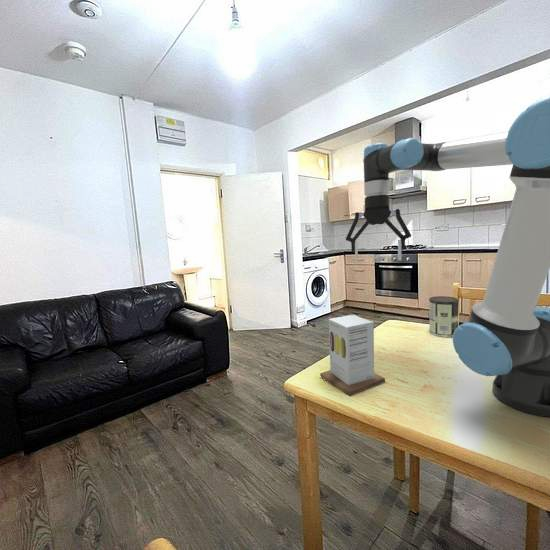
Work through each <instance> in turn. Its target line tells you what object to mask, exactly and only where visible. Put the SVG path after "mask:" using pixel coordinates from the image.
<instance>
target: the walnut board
mask: <svg viewBox="0 0 550 550" xmlns="http://www.w3.org/2000/svg"><path fill="white" fill-rule="evenodd" d="M320 376H321V377H322V378H321V377H320V378H321V379H323V378H324V379H325V380H324V379H323V380H324V381H326V380H327V381H328V382H327V381H326V382H327V383H329V382H330V383H331V384H330V383H329V384H330V385H332V386H333V387H336V388H337V389H338V390H340V391H341V392H343V393H345V394H346V395H348V396H349V397H352V396H355V395H356V394H359V393H361V392H364V391H367V390H369V389H372V388H375V387H376V386H379V385H382V384H385V383H386V378H385V377H383V376H381V375H379V374H377V373H375V372H374V378H372V379H369V380H366V381H362V382H359V383H355V384H352V385H347V384H346V383H344V382H343V381H342V380H340V379H339V378H338V377H336V376H335V375H334V374H332V373H331V372H330V369H329V370H326V371H323V372H320Z"/></svg>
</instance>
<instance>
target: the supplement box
mask: <svg viewBox="0 0 550 550" xmlns="http://www.w3.org/2000/svg"><path fill="white" fill-rule="evenodd" d="M374 324H375V323H374V321H372V320H369V319H366V318H363V317H360V316H358V315H356V314H348V315H344V316H338V317H332V318H328V331H329V332H328V333H329V334H328V335H329V339H328V340H329V362H330V363H329V366H330V368H329V370H330V372H331V373H332V374H334V375H335V376H336V377H338V378H339V379H340V380H342V381H343V382H344V383H346V384H347V385H352V384H355V383H359V382H362V381H366V380H369V379H372V378H374V373H375V341H374V340H375V336H374V335H375V334H374V333H375V332H374V331H375V330H374V329H375V326H374Z"/></svg>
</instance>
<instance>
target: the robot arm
mask: <svg viewBox="0 0 550 550" xmlns="http://www.w3.org/2000/svg"><path fill="white" fill-rule="evenodd" d="M362 160H363V161H362V163H363V180H364V182H363V185H364V187H363V189H364V191H363V192H364V196H365V198H364V212H358V211H356V212H355V214H354V220H353V222H352V225H351V226H350V229H349V230H348V233H347V235H346V237H345V241H347V242H350V243H351V252H352V253H354V258H355V259H354V261H355V263H358V261H359V259H358V258H359V253H358V251H359V250H358V249H359V248H358V242H357V239H358V238H359V237H360V236H361V234H362V233H363V232H364V231H365V230H366V228H367V227H368V226H369V224H370V226H371V225H372V226H374V225H375V226H376V225H384V224H386V226H388V227H389V229H390V230H392V232H393V233H394V234H395V235H396V236H397V237H398V238H399V239H397V260H398V261H402V251H404V250H406V249H405V248H406V239H409V238H411V237H412V234H411V232H410V230H409V229H408V227H407V225H406V223H405V221H404V220H403V218H402V215H401V210H400V209H399V208H397V209H393V210H391V209H390V196H389V192H390V181H389V180H390V178H389V177H390V174H392V173H394V172H398V171H427V172H428V171H432V172H441V171H446V170H453V169H454V170H455V169H468V168H482V167H495V166H499V167H500V166H507V165H508V166H510V165H512V166H511V167H512V168H511V170H510V174H509V177H508V178H509V180H510V181H511V182H512V183H513V185H514V187H515V192H514V195H513V198H512V201H511V206H510V209H509V212H508V216H507V219H506V221H505V222H506V223H505V225H504V228H503V232H502V235H501V240H500V243H499V247H498V249H497V253H496V256H495V260H494V263H493V267H492V270H491V273H490V277H489V280H488V284H487V286H486V289H485V293H484V295H483V296H484V297H483V300H482V301H479V302H477V303H475V304H473V306H472V308H471V311H470V314H469V317H468V318H469V319H468V321H467V322H464V323H461V324H460V325H458V327H457V328H456V330H455V331H454V334H453V337H452V345H453V348H454V351H455V352H456V354H457V355H458V358H459V359H460V361H461V362H462V363H463V365H465V366H466V367H467V368H468V369H470V370H471V371H473V372H474V373H477V374H478V375H481V376H485V377H495V378H494V379H493V382H492V393H493V395H494V397H496V398H497V399H498V400H499V401H500V402H502V404H505V405H506V406H509V407H511V408H513V409H515V410H518V411H521V412H524V413H527V414H531V415H535V416H540V417H547V418H548V417H549V418H550V307H548V306H541V305H537V304H538V301H539V298H540V296H541V293H542V290H543V287H544V285H545V282H546V279H547V277H548V275H549V271H550V94H548V95H546V96H543V97H541V98H539V99H538V100H536V101H535V102H533V103H532V104H530V105H528V107H527V108H525V110H523V111H522V112H520V114H519V115H518V116H517V117H516V118H515V120H514V121H513V123H511V126H510V127H509V130H508V131H503V132H498V133H497V132H496V133H490V134H484V135H479V136H474V137H466V138H462V139H460V138H459V139H456V140H455V139H454V140H451V141H450V140H449V141H444V142H438V143H437V142H436V143H421V141H419V140H418V139H417V138H416V137H409V138H406V139H405V138H404V139H401V140H399V141H397V142H395V143H393V144H390V145H388V144H387V143H385V142H378V143H373V144H369V145H367V146H366V147H365V148H364V150H363V159H362ZM391 215H392V216H393V217H395V218H396V220H397V222H398V224H399V225H400V228H401V229H402V231H403V233H404V234H403V233H402V232H401V231H400V230H399V229H398V228H397V227H396V226H395V225H394V224H393V223H392V222H391V221H390V219H389V217H390V216H391ZM362 217H363V218H364V219H365V220H366V221H365V222H364V224H363V225H362V226H361V227H360V228H359V229H358V230H357V232H356V233H355V235H354V236H353V237H352V235H353V232H354V231H355V229H356V227H357V225H358V222H359V220H361V219H362Z"/></svg>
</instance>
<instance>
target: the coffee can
mask: <svg viewBox="0 0 550 550" xmlns="http://www.w3.org/2000/svg"><path fill="white" fill-rule="evenodd" d="M428 298H429V299H428V301H429V331H428V332H429V333H430V335H432V336H437V337H440V336H441V338H444V337H445V338H453V334H454V331H455V330H456V328H457V327H458V326H459V302H460V299H459V298H457V297H453V296H443V295H441V296H440V295H439V296H438V295H437V296H432V297H428Z"/></svg>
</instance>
